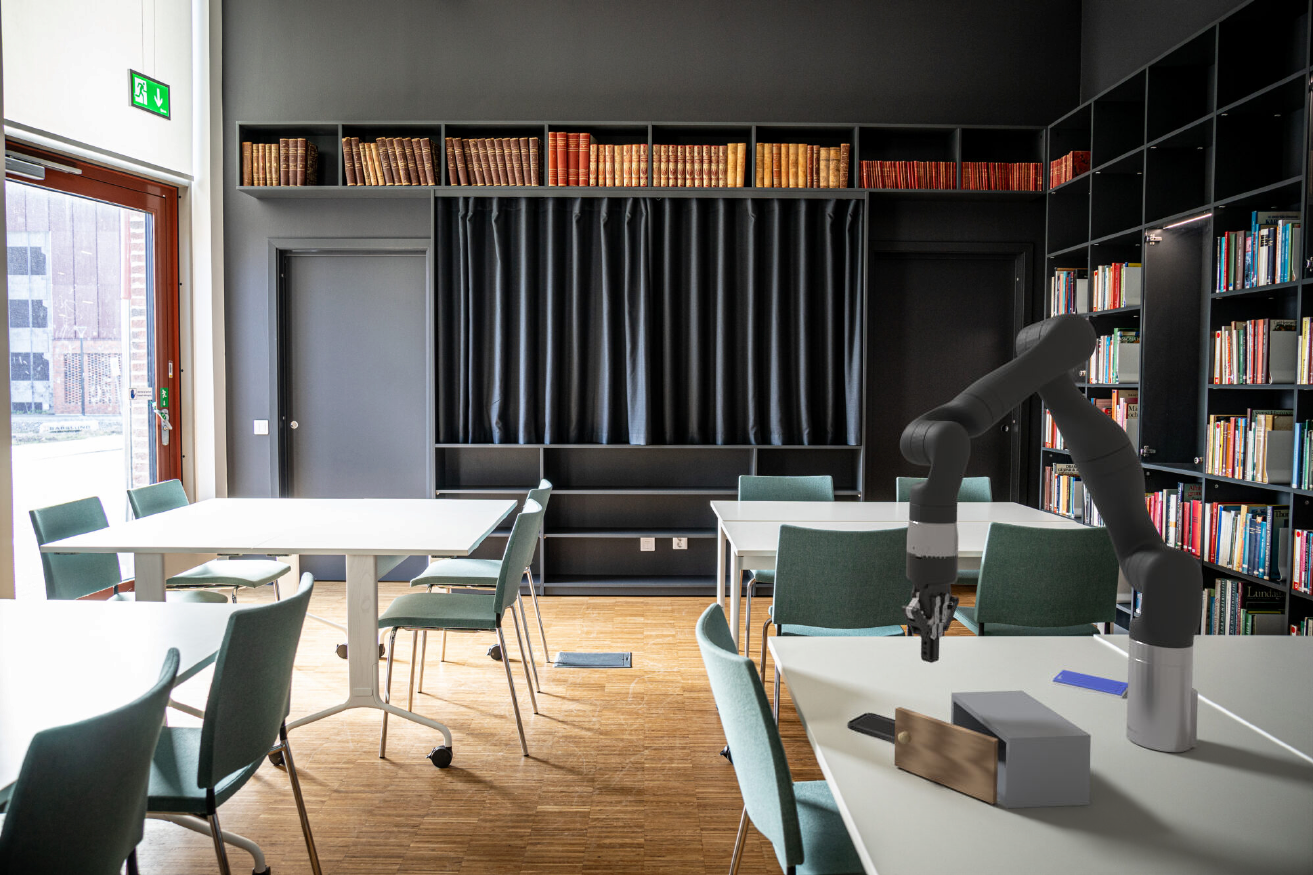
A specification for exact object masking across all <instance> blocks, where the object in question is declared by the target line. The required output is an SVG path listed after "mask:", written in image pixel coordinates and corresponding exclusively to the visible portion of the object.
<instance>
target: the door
mask: <svg viewBox="0 0 1313 875" xmlns="http://www.w3.org/2000/svg"><path fill="white" fill-rule="evenodd" d="M894 711H895V712H894V720H895V744H894V763H893V764H894V766H895V767H898V768H900V769H903V770H905V771H908V772H910V773H912V774H915V775H918V776H921V777H923V778H926V779H928V780H931V781H933V782H936V783H938V784H941V785H943V786H946V787H949V788H951V789H953V790H956V791H958V792H962V793H963V794H966V795H969V796H971V797H974V798H976V799H979V800H982V801H984V802H987V803H989V804H991V805H993V804H995V803H997V802H998V798H997V779H998V739H996V738H993V737H990V736H987V735H984V734H981V733H978V732H975V731H972V730H969V729H966V728H963V727H960V726H957V725H953V724H951V722H946V721H945V720H944V721H943V720H940V719H938V718H934V717H932V716H929V715H925V714H923V713H920V712H916V711H913V710H911V709H908V708H905V707H901V706H898V707H896V708H894Z"/></svg>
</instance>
